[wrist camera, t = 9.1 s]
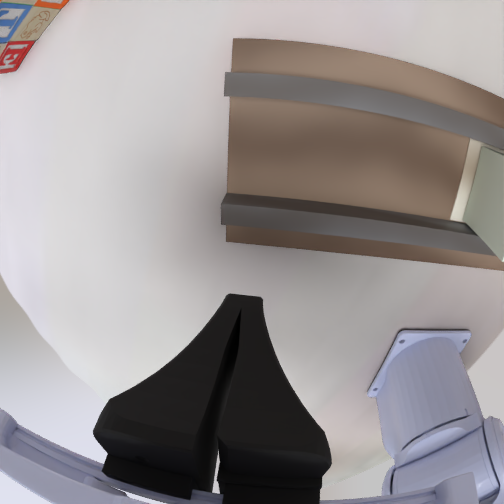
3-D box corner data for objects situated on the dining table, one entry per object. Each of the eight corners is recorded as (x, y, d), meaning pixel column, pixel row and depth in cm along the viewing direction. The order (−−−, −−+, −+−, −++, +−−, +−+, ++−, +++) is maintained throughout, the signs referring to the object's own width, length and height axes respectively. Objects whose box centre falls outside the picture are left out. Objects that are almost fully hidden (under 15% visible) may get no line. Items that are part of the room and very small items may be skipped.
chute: (503, 264, 19) (527, 294, 15) (228, 234, 20) (216, 268, 17) (544, 123, 13) (579, 137, 9) (236, 40, 14) (221, 29, 10)
